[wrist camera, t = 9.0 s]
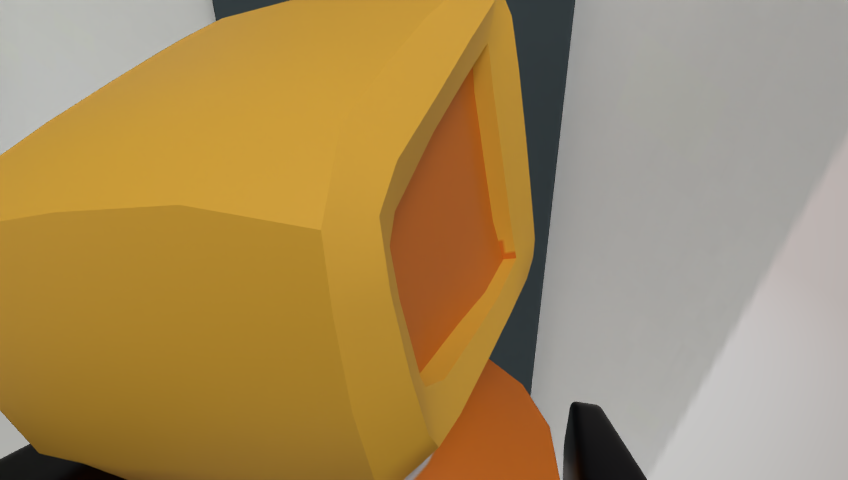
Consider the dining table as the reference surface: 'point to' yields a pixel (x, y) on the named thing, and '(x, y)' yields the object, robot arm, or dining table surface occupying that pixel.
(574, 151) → the dining table surface
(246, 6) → the mat
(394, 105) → the multicoloured piece
